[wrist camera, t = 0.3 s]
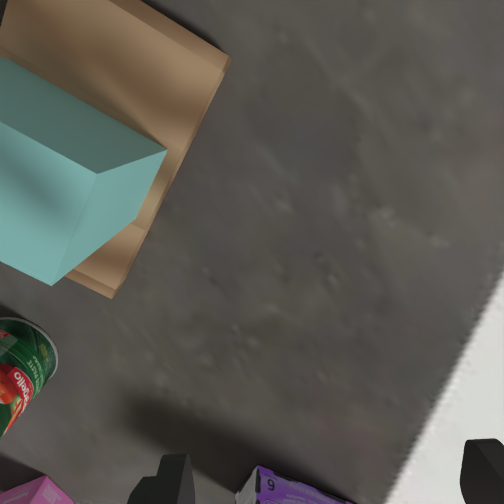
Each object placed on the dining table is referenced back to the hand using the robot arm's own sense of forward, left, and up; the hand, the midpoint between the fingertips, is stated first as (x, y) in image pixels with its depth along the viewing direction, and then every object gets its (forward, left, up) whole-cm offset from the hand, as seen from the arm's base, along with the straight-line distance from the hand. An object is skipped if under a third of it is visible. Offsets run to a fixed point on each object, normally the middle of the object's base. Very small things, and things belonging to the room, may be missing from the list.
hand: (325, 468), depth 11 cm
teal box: (+1, -17, -20) cm, 26 cm away
